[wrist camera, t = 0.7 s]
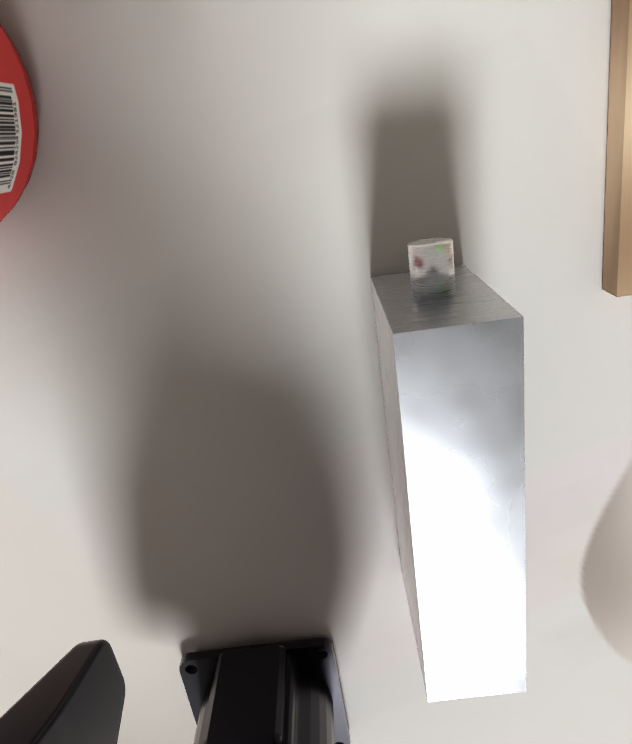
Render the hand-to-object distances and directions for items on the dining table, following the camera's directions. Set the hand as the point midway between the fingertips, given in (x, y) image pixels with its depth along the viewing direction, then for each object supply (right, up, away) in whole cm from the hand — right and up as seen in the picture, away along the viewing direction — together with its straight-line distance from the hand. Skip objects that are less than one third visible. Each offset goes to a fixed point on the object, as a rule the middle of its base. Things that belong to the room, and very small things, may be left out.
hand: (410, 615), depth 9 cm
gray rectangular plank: (+3, +1, +13) cm, 13 cm away
